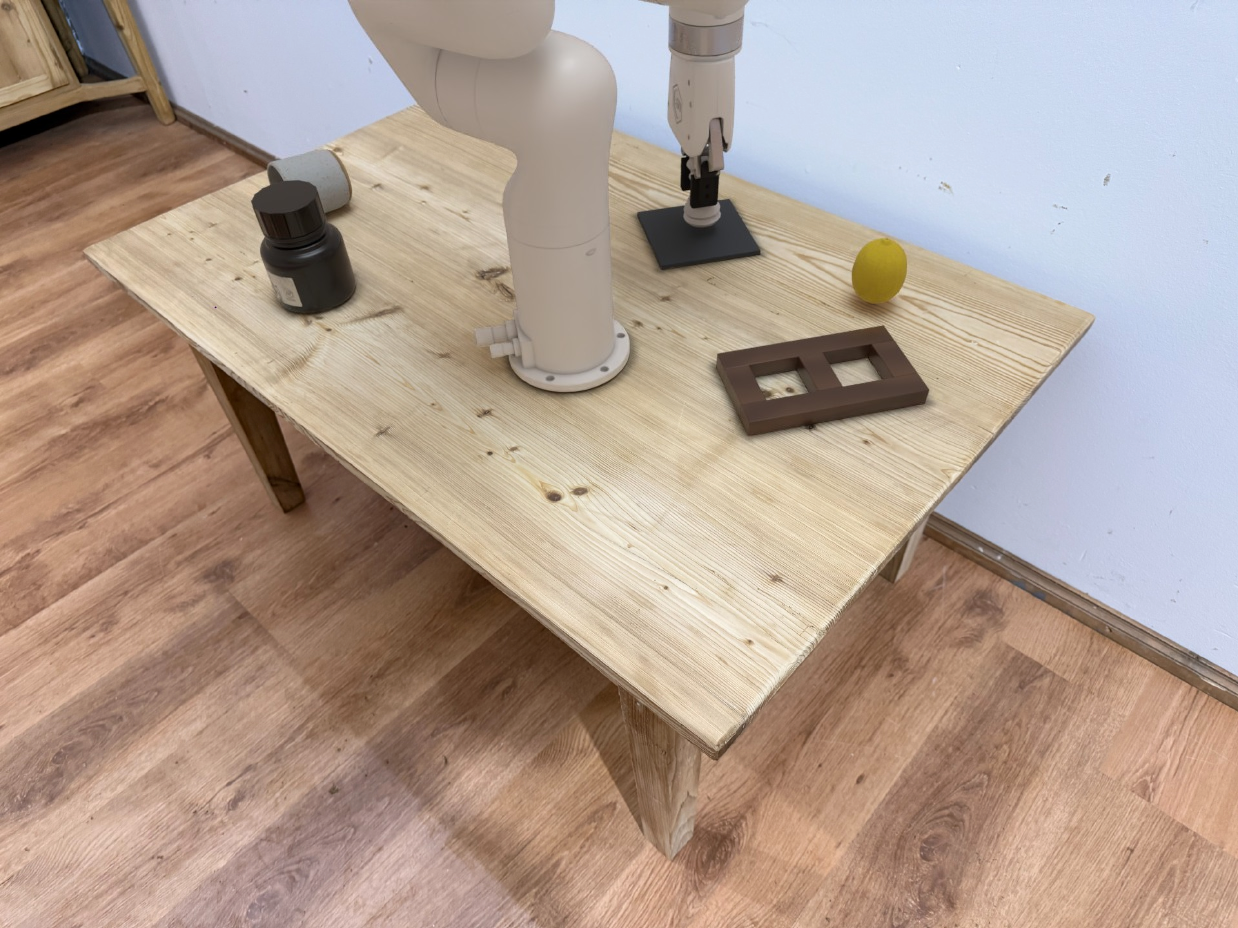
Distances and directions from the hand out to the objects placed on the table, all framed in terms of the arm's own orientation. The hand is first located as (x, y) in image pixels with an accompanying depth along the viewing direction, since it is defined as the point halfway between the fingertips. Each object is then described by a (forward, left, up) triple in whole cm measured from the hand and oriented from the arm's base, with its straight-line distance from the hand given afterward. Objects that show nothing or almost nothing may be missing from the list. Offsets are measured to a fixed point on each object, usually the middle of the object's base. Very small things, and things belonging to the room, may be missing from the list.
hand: (698, 195), depth 99 cm
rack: (+4, -29, -5) cm, 30 cm away
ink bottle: (-45, 0, -5) cm, 45 cm away
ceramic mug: (-46, +19, -5) cm, 50 cm away
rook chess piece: (+1, 0, -3) cm, 3 cm away
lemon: (+15, -18, -5) cm, 24 cm away
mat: (0, 0, -5) cm, 5 cm away
